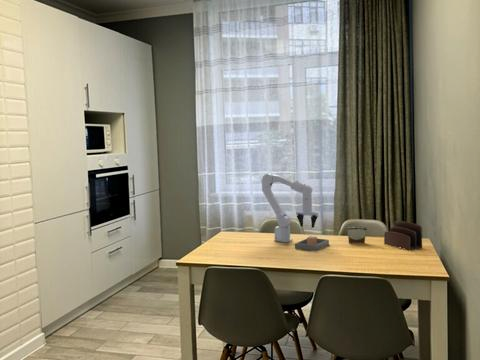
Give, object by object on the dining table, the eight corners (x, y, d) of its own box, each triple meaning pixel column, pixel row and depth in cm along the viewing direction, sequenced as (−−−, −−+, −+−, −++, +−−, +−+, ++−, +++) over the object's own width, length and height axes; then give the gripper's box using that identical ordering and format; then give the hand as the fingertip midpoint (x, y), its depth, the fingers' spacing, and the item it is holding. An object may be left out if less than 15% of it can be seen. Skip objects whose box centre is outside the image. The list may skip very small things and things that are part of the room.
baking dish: (294, 248, 259) (294, 243, 259) (309, 242, 275) (309, 237, 274) (315, 251, 252) (315, 245, 251) (328, 244, 267) (328, 239, 267)
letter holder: (396, 242, 271) (396, 219, 270) (422, 248, 253) (422, 224, 252) (383, 244, 266) (383, 221, 265) (409, 251, 248) (409, 226, 247)
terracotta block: (307, 245, 262) (306, 237, 262) (310, 244, 266) (310, 236, 266) (313, 246, 260) (313, 238, 259) (316, 245, 263) (316, 237, 263)
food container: (365, 241, 275) (365, 225, 274) (367, 243, 269) (367, 227, 268) (345, 241, 276) (345, 225, 275) (346, 243, 270) (346, 227, 269)
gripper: (293, 205, 275) (293, 226, 276) (315, 206, 267) (315, 229, 268) (298, 203, 281) (299, 225, 282) (320, 205, 272) (320, 227, 273)
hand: (307, 226), depth 275 cm, fingers open, 7 cm apart
